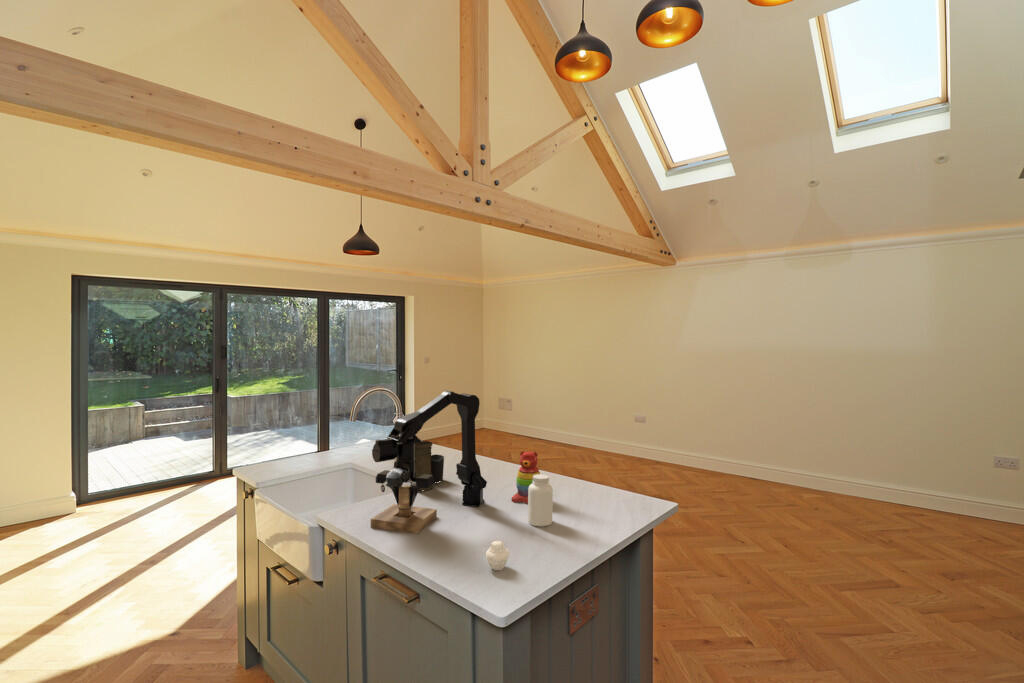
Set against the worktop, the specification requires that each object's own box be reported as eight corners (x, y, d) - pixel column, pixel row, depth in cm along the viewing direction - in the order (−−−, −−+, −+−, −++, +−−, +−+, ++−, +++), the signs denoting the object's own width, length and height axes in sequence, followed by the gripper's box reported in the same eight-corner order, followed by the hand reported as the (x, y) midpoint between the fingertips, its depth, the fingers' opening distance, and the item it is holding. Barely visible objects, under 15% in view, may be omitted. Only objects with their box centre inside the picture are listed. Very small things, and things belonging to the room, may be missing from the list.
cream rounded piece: (493, 576, 115) (494, 548, 115) (480, 566, 120) (481, 539, 120) (513, 569, 119) (514, 542, 119) (500, 560, 124) (500, 534, 124)
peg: (413, 513, 150) (413, 485, 151) (407, 517, 147) (407, 489, 147) (402, 511, 152) (402, 484, 152) (395, 516, 148) (396, 488, 148)
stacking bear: (509, 501, 169) (510, 453, 169) (519, 493, 178) (520, 447, 178) (537, 506, 165) (538, 456, 165) (546, 497, 174) (546, 450, 174)
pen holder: (441, 484, 189) (442, 460, 189) (418, 484, 189) (419, 459, 189) (445, 477, 198) (445, 454, 198) (423, 477, 198) (423, 454, 198)
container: (427, 492, 178) (428, 445, 179) (406, 490, 180) (406, 444, 180) (436, 485, 187) (436, 441, 187) (415, 483, 189) (415, 439, 189)
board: (436, 516, 154) (436, 509, 154) (416, 533, 140) (416, 525, 140) (393, 511, 158) (394, 504, 158) (370, 526, 145) (370, 518, 145)
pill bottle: (554, 519, 152) (555, 474, 152) (548, 528, 145) (549, 481, 145) (531, 516, 155) (532, 471, 155) (524, 525, 147) (525, 478, 147)
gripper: (365, 461, 144) (365, 510, 144) (420, 466, 139) (419, 517, 139) (385, 452, 155) (384, 499, 155) (436, 457, 150) (435, 505, 150)
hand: (405, 505), depth 149 cm, fingers closed on peg, 4 cm apart
